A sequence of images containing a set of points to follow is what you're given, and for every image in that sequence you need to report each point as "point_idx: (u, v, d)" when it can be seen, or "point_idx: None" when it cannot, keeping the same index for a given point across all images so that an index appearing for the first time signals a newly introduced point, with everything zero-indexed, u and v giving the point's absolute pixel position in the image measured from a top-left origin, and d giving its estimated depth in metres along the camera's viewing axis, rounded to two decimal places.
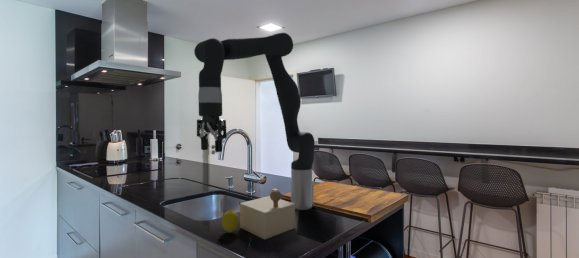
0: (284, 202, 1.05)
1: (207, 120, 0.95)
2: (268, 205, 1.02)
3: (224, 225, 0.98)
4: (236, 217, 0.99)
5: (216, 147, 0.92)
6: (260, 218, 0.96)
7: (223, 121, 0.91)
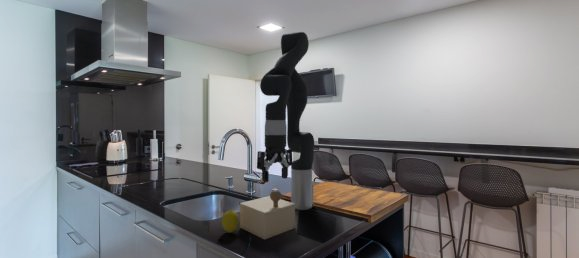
0: (284, 202, 1.05)
1: (277, 151, 0.99)
2: (268, 205, 1.02)
3: (224, 225, 0.98)
4: (236, 217, 0.99)
5: (286, 174, 1.03)
6: (260, 218, 0.96)
7: None
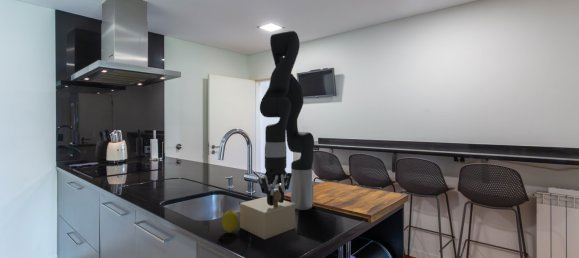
0: (284, 202, 1.05)
1: (277, 172, 0.99)
2: (268, 205, 1.02)
3: (224, 225, 0.98)
4: (236, 217, 0.99)
5: (282, 198, 1.02)
6: (260, 218, 0.96)
7: None
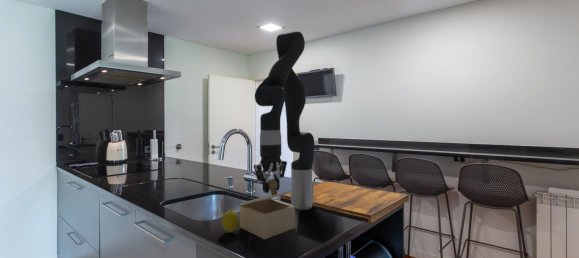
0: None
1: (272, 160, 1.01)
2: None
3: (224, 225, 0.98)
4: (236, 217, 0.99)
5: (278, 186, 1.03)
6: (260, 218, 0.96)
7: None
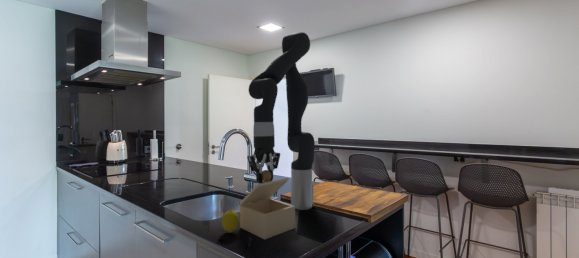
0: None
1: (265, 151, 1.04)
2: None
3: (224, 225, 0.98)
4: (236, 217, 0.99)
5: (271, 177, 1.06)
6: (260, 218, 0.96)
7: None
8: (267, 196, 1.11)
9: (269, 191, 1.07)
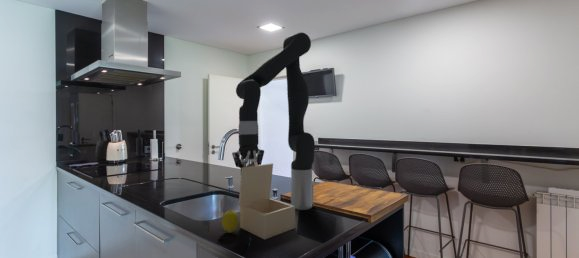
0: None
1: (249, 149, 1.10)
2: None
3: (224, 225, 0.98)
4: (236, 217, 0.99)
5: None
6: (260, 218, 0.96)
7: None
8: (265, 193, 1.12)
9: (262, 183, 1.10)
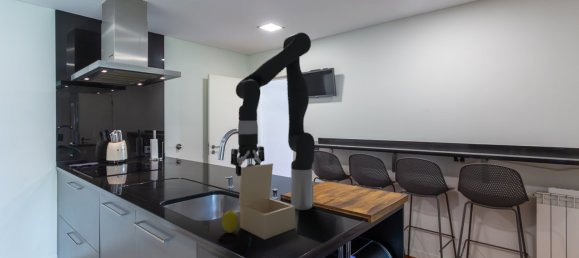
0: None
1: (249, 148, 1.11)
2: None
3: (224, 225, 0.98)
4: (236, 217, 0.99)
5: None
6: (260, 218, 0.96)
7: None
8: (265, 193, 1.12)
9: (262, 183, 1.10)
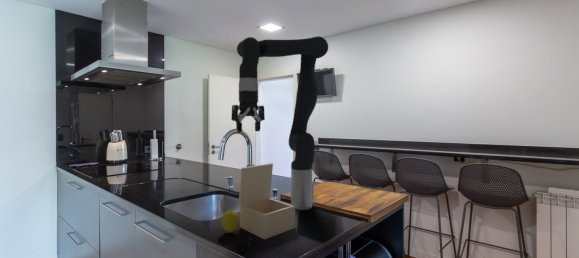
0: None
1: (249, 106, 1.13)
2: None
3: (224, 225, 0.98)
4: (236, 217, 0.99)
5: (259, 127, 1.17)
6: (260, 218, 0.96)
7: None
8: (265, 193, 1.12)
9: (262, 183, 1.10)
